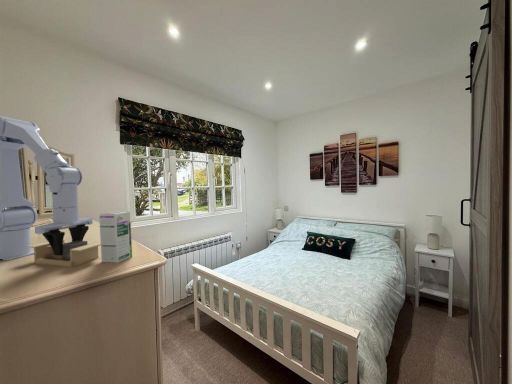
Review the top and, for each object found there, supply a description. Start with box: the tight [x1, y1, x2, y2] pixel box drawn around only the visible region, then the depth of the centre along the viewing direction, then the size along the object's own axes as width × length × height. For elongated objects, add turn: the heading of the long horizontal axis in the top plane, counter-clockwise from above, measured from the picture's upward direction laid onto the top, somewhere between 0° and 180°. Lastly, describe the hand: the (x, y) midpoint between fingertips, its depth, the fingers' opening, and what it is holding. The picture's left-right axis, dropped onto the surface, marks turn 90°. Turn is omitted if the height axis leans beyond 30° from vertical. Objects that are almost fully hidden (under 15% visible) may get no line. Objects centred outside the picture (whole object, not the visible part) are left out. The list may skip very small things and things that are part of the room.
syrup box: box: [98, 210, 133, 264], centre depth 66 cm, size 6×6×14 cm
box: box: [46, 240, 88, 261], centre depth 66 cm, size 10×4×6 cm, turn 76°
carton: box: [26, 239, 101, 268], centre depth 66 cm, size 20×8×5 cm, turn 76°
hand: (67, 252), depth 65 cm, fingers closed on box, 4 cm apart
